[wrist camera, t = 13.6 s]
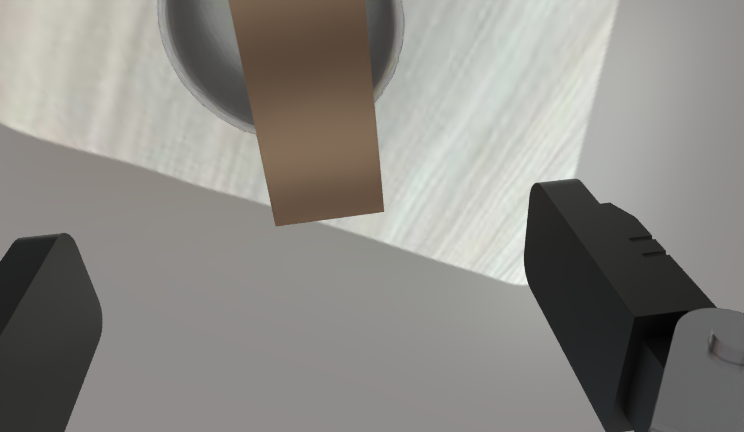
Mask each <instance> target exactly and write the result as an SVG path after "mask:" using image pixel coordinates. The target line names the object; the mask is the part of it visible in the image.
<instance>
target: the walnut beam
mask: <svg viewBox="0 0 744 432" xmlns="http://www.w3.org/2000/svg"><path fill="white" fill-rule="evenodd" d="M228 1H229V6H230V11H231V15H232V20H233V25H234V30H235V34H236V39H237V44H238V49H239V54H240V58H241V63H242V68H243V73H244V77H245V82H246V87H247V92H248V96H249V101H250V106H251V111H252V116H253V120H254V125H255V130H256V135H257V139H258V144H259V149H260V154H261V158H262V163H263V168H264V173H265V178H266V182H267V187H268V192H269V197H270V201H271V206H272V211H273V215H274V221H275V225H276V226H282V225H289V224H297V223H305V222H312V221H319V220H327V219H334V218H342V217H349V216H356V215H364V214H371V213H379V212H384V205H383V193H382V182H381V171H380V160H379V149H378V138H377V127H376V116H375V105H374V94H373V83H372V72H371V61H370V50H369V38H368V27H367V16H366V5H365V0H228Z"/></svg>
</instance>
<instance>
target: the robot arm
mask: <svg viewBox="0 0 744 432" xmlns="http://www.w3.org/2000/svg"><path fill="white" fill-rule="evenodd" d="M524 266H525V273H526V277H527V281H528V284H529V286H530V289H531V291H532V293H533V294H534V296H535V298H536V300H537V302H538V304H539V306H540V308H541V310H542V311H543V314H544V315H545V317H546V319H547V321H548V323H549V325H550V327H551V329H552V331H553V332H554V334H555V336H556V338H557V340H558V342H559V344H560V346H561V348H562V350H563V352H564V353H565V355H566V357H567V359H568V361H569V363H570V365H571V367H572V369H573V371H574V372H575V374H576V376H577V378H578V380H579V382H580V384H581V386H582V388H583V390H584V391H585V393H586V395H587V397H588V399H589V401H590V403H591V405H592V407H593V409H594V411H595V412H596V414H597V416H598V418H599V420H600V422H601V424H602V426H603V427H604V429H605V431H606V432H625V431H632V430H634V432H744V313H741V312H738V311H734V310H729V309H721V308H717V307H716V306H715V305H714V304H713V303H712V302H711V301H710V300H709V298H708V297H707V296H706V295H705V294H704V293H703V292H702V291H701V289H700V288H699V287H698V286H697V285H696V284H695V283H694V282H693V281H692V279H691V278H689V276H688V275H687V274H686V273H685V272H684V271H683V269H682V268H681V267H680V266H679V265H678V264H677V263H676V262H675V261H674V260H673V258H672V257H671V256H670V255H666V251H665V250H664V248H663V247H662V246H661V245H660V244H659V243H658V242H657V241H656V239H652V235H651V234H650V233H649V232H648V231H647V229H646V228H645V227H644V226H643V225H642V224H641V223H640V222H639V221H638V219H636V218H635V217H634V216H632V215H631V214H629V213H627V212H625V211H624V210H622V209H620V208H618V207H617V206H615V205H613V204H611V203H603V204H600V203H599V202H598V201H597V200H596V199H595V197H594V196H593V195H592V194H591V193H590V192H589V190H588V189H587V188H586V187H585V186H584V184H583V183H582V182H581V181H580V180H578V179H568V180H559V181H550V182H541V183H535V184H534V185H533V186H532V188H531V192H530V197H529V208H528V218H527V228H526V238H525V249H524ZM101 332H102V311H101V306H100V303H99V300H98V297H97V295H96V293H95V290H94V287H93V285H92V282H91V280H90V277H89V275H88V272H87V270H86V267H85V265H84V262H83V260H82V257H81V255H80V252H79V250H78V247H77V245H76V243H75V241H74V239H73V238H72V237H71V236H70V235H69V234H67V233H61V234H52V235H43V236H34V237H25V238H19V239H17V240H15V241H14V243H13V244H12V245H11V247H10V248H9V250H8V251H7V253H6V254H5V256H4V257H3V258H2V260H1V261H0V432H64V431H65V429H66V426H67V424H68V421H69V418H70V416H71V413H72V411H73V408H74V405H75V403H76V400H77V397H78V395H79V392H80V390H81V387H82V384H83V382H84V379H85V377H86V374H87V371H88V369H89V366H90V364H91V361H92V358H93V356H94V353H95V350H96V348H97V345H98V342H99V340H100V337H101Z"/></svg>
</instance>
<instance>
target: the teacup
mask: <svg viewBox="0 0 744 432" xmlns="http://www.w3.org/2000/svg"><path fill="white" fill-rule="evenodd" d="M365 5H366V16H367V27H368V38H369V50H370V61H371V72H372V83H373V94H374V103H375V101H376V100H377V99H378V98H379V97H380V96H381V95H382V93H383V90H384V89H385V88H386V86H387V85H388V83H389V81H390V80H391V78H392V76H393V75H394V72H395V68H396V66H397V64H398V61H399V55H400V52H401V48H402V43H403V34H404V12H403V6H402V1H401V0H365ZM158 22H159V28H160V32H161V37H162V42H163V45H164V48H165V50H166V53H167V56H168V58H169V60H170V62H171V64H172V66H173V68H174V70H175V72H176V73H177V75H178V77H179V78H180V80H181V81H182V83H183V84H184V86H185V87H186V88H187V89H188V90H189V91H190V92H191V94H192V95H193V96H194V97H195V98H196V99H197V100H198V101H199V102H200V103H201V104H202V105H204V106H205V107H206V108H207V109H209V110H210V111H211V112H212V113H214V114H215V115H216V116H217V117H219V118H221V119H222V120H224V121H226V122H228V123H229V124H231V125H233V126H235V127H237V128H239V129H241V130H243V131H245V132H249V133H253V134H256V130H255V125H254V120H253V116H252V111H251V106H250V101H249V96H248V92H247V87H246V82H245V77H244V73H243V68H242V63H241V58H240V54H239V49H238V44H237V39H236V34H235V30H234V25H233V20H232V15H231V11H230V6H229V1H228V0H158Z"/></svg>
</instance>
